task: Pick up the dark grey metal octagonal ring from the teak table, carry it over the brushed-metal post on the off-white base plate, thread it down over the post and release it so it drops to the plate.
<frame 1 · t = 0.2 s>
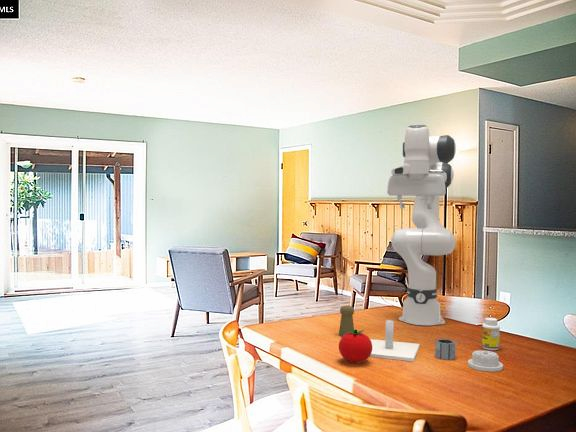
hand: (415, 208, 189), 47 cm above the table, fingers open, 8 cm apart
ring: (445, 356, 170), on the table
olive pepper mill: (346, 335, 196), on the table
mechanical component: (485, 368, 161), on the table
post block: (389, 350, 176), on the table
tomato: (355, 362, 164), on the table
supplement bottle: (490, 349, 181), on the table
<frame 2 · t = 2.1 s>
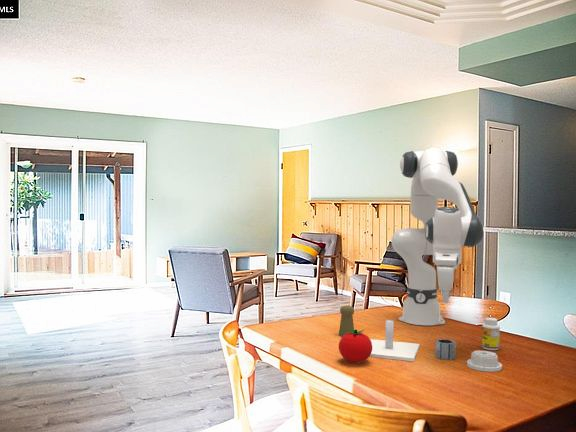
hand: (446, 300, 170), 18 cm above the table, fingers open, 8 cm apart
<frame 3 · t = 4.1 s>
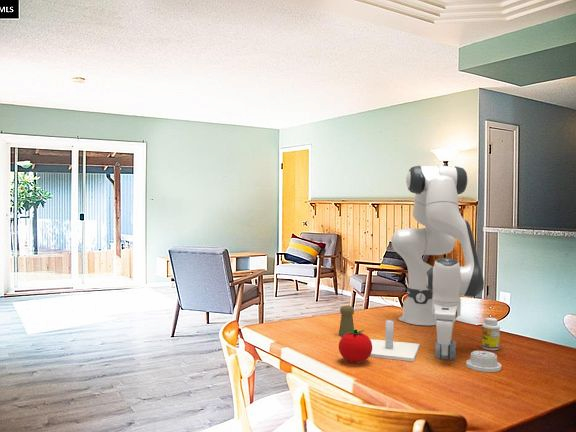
hand: (445, 351, 170), 2 cm above the table, fingers closed on ring, 6 cm apart
ring: (445, 356, 170), on the table, touching gripper
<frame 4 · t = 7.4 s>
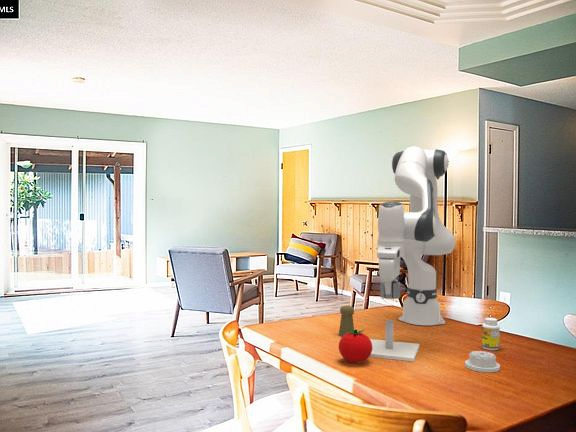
hand: (390, 292, 176), 20 cm above the table, fingers closed on ring, 6 cm apart
ring: (390, 297, 176), point 18 cm above the table, touching gripper
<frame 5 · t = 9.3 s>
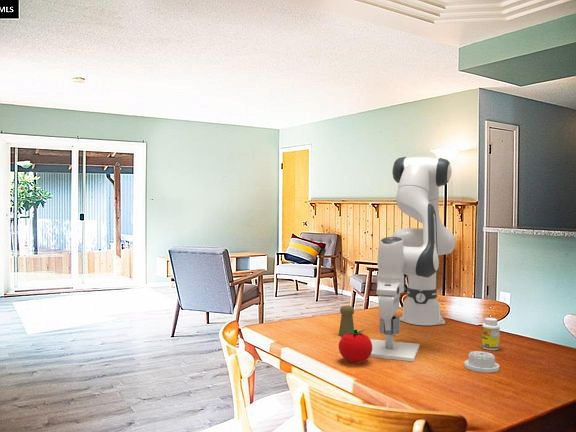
hand: (389, 327, 176), 8 cm above the table, fingers closed on ring, 6 cm apart
ring: (389, 332, 176), point 6 cm above the table, touching gripper
when the fingers open (4 cm above the table, at t = 11.0 s): ring drops 1 cm, resting on post block.
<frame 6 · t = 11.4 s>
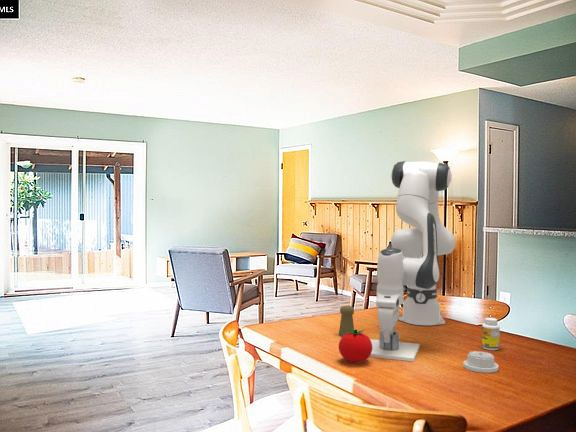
hand: (389, 338, 176), 4 cm above the table, fingers open, 8 cm apart
ring: (389, 347, 176), point 1 cm above the table, touching post block
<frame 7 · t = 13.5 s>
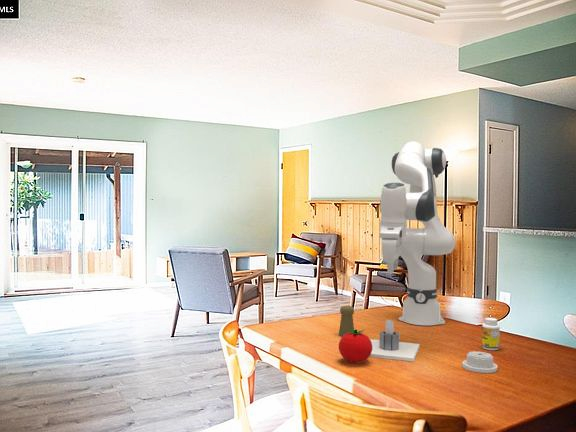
hand: (392, 271, 179), 26 cm above the table, fingers open, 8 cm apart
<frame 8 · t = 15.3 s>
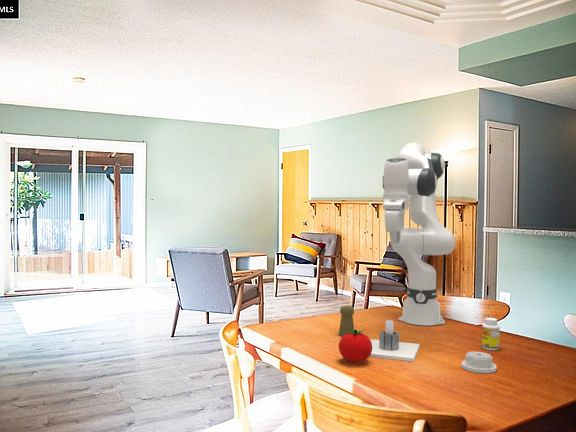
hand: (395, 243, 185), 35 cm above the table, fingers open, 8 cm apart
at the end: ring 0.1 cm off-centre on the post block, point 1.0 cm above the post block's base; the gripper is holding nothing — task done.
